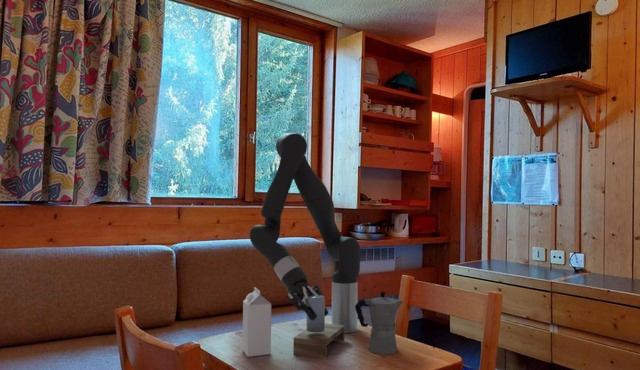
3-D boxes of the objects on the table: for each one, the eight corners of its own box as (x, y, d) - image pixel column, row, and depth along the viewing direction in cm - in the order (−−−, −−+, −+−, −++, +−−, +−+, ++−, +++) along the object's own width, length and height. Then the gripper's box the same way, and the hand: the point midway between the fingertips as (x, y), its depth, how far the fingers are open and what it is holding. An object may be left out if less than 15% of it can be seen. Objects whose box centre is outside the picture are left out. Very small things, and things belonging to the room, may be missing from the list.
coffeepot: (397, 344, 147) (397, 287, 148) (408, 353, 138) (408, 293, 139) (351, 347, 144) (351, 289, 145) (359, 356, 135) (359, 295, 136)
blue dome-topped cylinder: (310, 326, 144) (310, 294, 144) (327, 328, 142) (327, 295, 142) (303, 331, 139) (304, 297, 139) (320, 333, 137) (321, 299, 137)
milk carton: (265, 348, 143) (265, 286, 144) (270, 354, 136) (271, 290, 137) (242, 350, 140) (243, 287, 141) (247, 357, 134) (248, 291, 135)
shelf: (316, 337, 154) (316, 322, 155) (344, 340, 151) (344, 325, 151) (293, 354, 137) (293, 337, 137) (324, 358, 133) (325, 341, 133)
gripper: (282, 268, 140) (313, 313, 132) (310, 263, 151) (340, 305, 144) (269, 284, 143) (299, 329, 135) (297, 278, 154) (326, 319, 147)
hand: (320, 316), depth 140 cm, fingers closed on blue dome-topped cylinder, 5 cm apart
